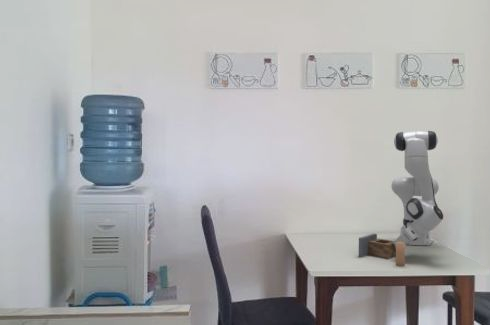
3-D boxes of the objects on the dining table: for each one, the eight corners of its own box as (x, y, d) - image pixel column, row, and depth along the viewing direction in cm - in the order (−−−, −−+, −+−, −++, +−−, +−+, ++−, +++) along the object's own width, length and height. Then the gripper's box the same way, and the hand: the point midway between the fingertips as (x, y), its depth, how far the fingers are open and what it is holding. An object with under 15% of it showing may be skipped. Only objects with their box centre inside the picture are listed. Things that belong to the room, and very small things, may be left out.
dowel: (397, 263, 210) (398, 241, 210) (405, 265, 207) (406, 242, 207) (394, 265, 207) (394, 242, 207) (402, 267, 205) (402, 244, 204)
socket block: (377, 251, 234) (378, 238, 234) (397, 254, 226) (397, 241, 226) (368, 254, 226) (368, 241, 226) (388, 258, 218) (388, 245, 218)
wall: (373, 251, 234) (373, 233, 234) (376, 252, 233) (376, 233, 232) (358, 257, 222) (358, 237, 222) (362, 257, 221) (362, 238, 221)
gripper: (419, 224, 226) (401, 240, 233) (403, 229, 211) (384, 246, 218) (428, 233, 223) (409, 249, 230) (412, 239, 208) (392, 256, 215)
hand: (396, 248), depth 224 cm, fingers closed, pressing on socket block
